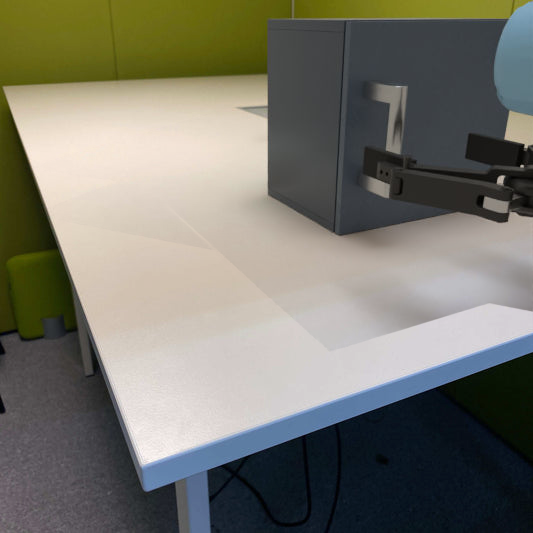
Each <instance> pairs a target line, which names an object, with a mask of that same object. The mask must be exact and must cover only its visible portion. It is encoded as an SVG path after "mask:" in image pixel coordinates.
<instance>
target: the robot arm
mask: <svg viewBox="0 0 533 533" xmlns="http://www.w3.org/2000/svg"><path fill="white" fill-rule="evenodd" d="M508 19H509V20H508V22H507V23H506V25H505V27H504V29H503V32H502V35H501V37H500V40H499V43H498V47H497V51H496V56H495V63H494V83H495V86H496V88H497V96H498V98H499V100H500V102H501V103H502V105H503V106H504V107H506V108H507V109H508V110H510V111H509V112H513V113H518V114H522V115H525V116H531V117H533V0H530V1H528V2H526V3H525V4H523V5H522V6H518V7H517V8H516V9H515V10H514V12H513V13H512V14H511V16H510V17H509V18H508ZM525 145H526V144H525V143H522V142H519V141H513V140H508V139H500V138H496V137H491V136H487V135H483V134H478V133H469V134H468V140H467V147H466V154H465V159H469V160H473V161H476V162H480V163H483V164H487V165H490V166H491V167H490V168H489V169H488V170H476V169H465V168H454V167H443V166H432V165H420V164H417V160H415V159H412V155H405V156H402V155H399V154H396V153H393V152H390V151H386V150H383V149H380V148H377V147H374V146H365V148H364V161H363V174H364V175H366V176H369V177H372V178H374V179H377V180H379V181H382V182H384V183H387V184H390V188H389V198H390V199H393V200H398V201H404V202H409V203H414V204H419V205H424V206H430V207H435V208H440V209H445V210H450V211H456V212H455V213H461V214H465V215H466V214H467V215H472V216H477V217H479V218H483V219H486V220H489V221H492V222H495V223H498V224H506V223H508V222H509V220H510V214H511V213H515V214H516V215H518V216H519V217H525V218H533V144H528V145H527V147H525ZM501 176H502V177H503V176H504V177H503V180H502V183H498V179H499V178H500V177H501Z"/></svg>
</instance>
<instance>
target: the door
mask: <svg viewBox="0 0 533 533" xmlns="http://www.w3.org/2000/svg"><path fill="white" fill-rule="evenodd" d="M507 22H508V20H460V21H353V22H346V32H345V51H344V69H343V88H342V106H341V125H340V144H339V162H338V181H337V200H336V218H335V233H334V234H335V235H337V236H344V235H348V234H354V233H359V232H364V231H368V230H373V229H378V228H383V227H389V226H394V225H399V224H403V223H408V222H413V221H418V220H423V219H428V218H432V217H438V216H443V215H448V214H453V213H457V212H456V211H450V210H445V209H440V208H435V207H430V206H424V205H419V204H414V203H409V202H404V201H398V200H393V199H390V198H389V188H390V184H387V183H384V182H382V181H379V180H377V179H374V178H372V177H369V176H366V175H364V174H363V161H364V148H365V146H374V147H377V148H380V149H383V150H386V151H390V152H393V153H396V154H399V155H402V156H405V155H412V159H415V160H417V164H420V165H432V166H443V167H454V168H465V169H476V170H488V169H489V168H490V167H491V166H490V165H487V164H483V163H480V162H476V161H473V160H469V159H465V154H466V147H467V140H468V134H469V133H478V134H483V135H487V136H491V137H496V138H500V139H505V138H506V133H507V128H508V121H509V116H510V112H511V111H510V110H508V109H507V108H506V107H504V106H503V105H502V103H501V102H500V100H499V98H498V96H497V88H496V86H495V83H494V63H495V56H496V51H497V47H498V43H499V40H500V37H501V35H502V32H503V29H504V27H505V25H506V23H507ZM505 140H506V139H505Z"/></svg>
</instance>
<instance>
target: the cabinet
mask: <svg viewBox="0 0 533 533" xmlns="http://www.w3.org/2000/svg"><path fill="white" fill-rule="evenodd" d="M460 20H509V18H500V17H499V18H496V17H495V18H491V17H490V18H487V17H485V18H483V17H482V18H481V17H479V18H478V17H477V18H476V17H475V18H474V17H384V18H383V17H369V18H367V17H362V18H361V17H359V18H356V17H351V18H341V17H339V18H268V19H267V196H269V197H271V198H272V199H273V200H276V201H277V202H279V203H281V204H282V205H285V207H288V208H289V209H291V210H293V211H295V212H297V213H298V214H300V215H302V216H303V217H305V218H307V219H309V220H310V221H311V222H313V223H315V224H317V225H318V226H321V227H322V228H324V229H326V230H327V231H329V232H331V233H333V234H335V218H336V200H337V181H338V162H339V144H340V125H341V106H342V88H343V69H344V51H345V32H346V22H353V21H460Z"/></svg>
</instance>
